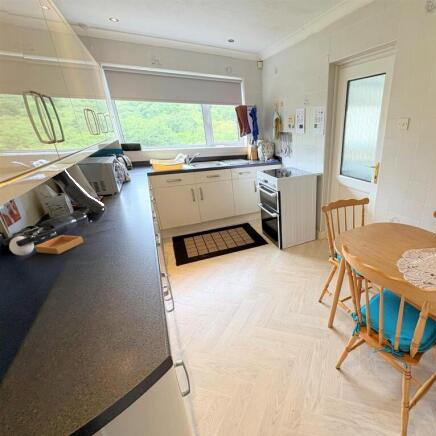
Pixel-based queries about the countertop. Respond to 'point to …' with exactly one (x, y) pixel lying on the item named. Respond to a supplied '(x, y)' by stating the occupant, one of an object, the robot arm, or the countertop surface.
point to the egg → (20, 250)
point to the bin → (59, 244)
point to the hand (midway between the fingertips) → (11, 243)
